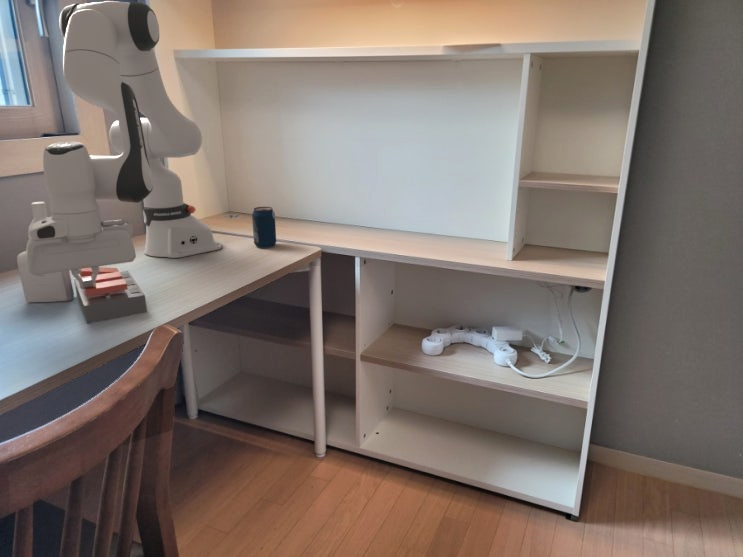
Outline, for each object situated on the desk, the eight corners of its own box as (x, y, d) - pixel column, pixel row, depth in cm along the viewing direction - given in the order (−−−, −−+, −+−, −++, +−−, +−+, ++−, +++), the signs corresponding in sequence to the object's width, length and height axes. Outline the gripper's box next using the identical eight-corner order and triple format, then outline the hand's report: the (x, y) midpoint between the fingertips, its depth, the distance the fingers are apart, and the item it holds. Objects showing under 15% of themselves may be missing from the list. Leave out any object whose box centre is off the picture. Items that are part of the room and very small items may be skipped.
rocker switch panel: (130, 285, 137) (127, 268, 135) (147, 311, 121) (144, 292, 119) (76, 294, 131) (73, 276, 129) (87, 323, 115) (83, 303, 113)
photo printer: (22, 304, 125) (11, 252, 121) (32, 297, 129) (21, 246, 125) (69, 302, 126) (59, 251, 122) (77, 296, 130) (68, 246, 126)
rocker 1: (116, 273, 132) (116, 268, 132) (119, 277, 129) (119, 272, 129) (79, 272, 128) (79, 266, 127) (81, 276, 125) (81, 271, 124)
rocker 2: (119, 277, 127) (119, 271, 127) (122, 281, 124) (121, 275, 124) (81, 283, 123) (80, 277, 123) (83, 288, 120) (82, 282, 120)
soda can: (279, 243, 175) (278, 206, 171) (270, 249, 168) (268, 211, 164) (260, 242, 176) (257, 205, 172) (250, 248, 170) (247, 210, 166)
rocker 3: (124, 284, 122) (123, 278, 122) (127, 289, 119) (126, 283, 119) (85, 291, 118) (83, 285, 118) (87, 296, 115) (86, 290, 115)
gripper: (128, 215, 120) (137, 275, 124) (19, 226, 109) (32, 291, 114) (134, 221, 115) (142, 283, 119) (20, 232, 104) (34, 300, 109)
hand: (88, 287), depth 116 cm, fingers closed, pressing on rocker 3
